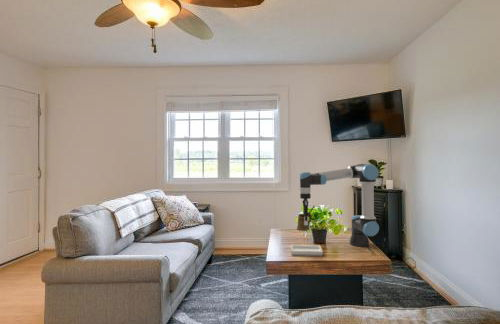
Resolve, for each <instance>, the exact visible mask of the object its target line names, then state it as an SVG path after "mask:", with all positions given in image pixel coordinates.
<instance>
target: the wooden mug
mask: <svg viewBox="0 0 500 324" xmlns="http://www.w3.org/2000/svg"><path fill="white" fill-rule="evenodd" d="M314 208H315V205H314V206H312V208H311V209H310V210H309V211H308V225H304V216H303V215H304V214H303V213H299V214H298V217H297V227H296V230H297V231H299V232H307V231H309V230H310V224H311V222H312V219H313V217H312V214H311V213H312V211H313V210H314Z"/></svg>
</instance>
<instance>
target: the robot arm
mask: <svg viewBox="0 0 500 324" xmlns="http://www.w3.org/2000/svg"><path fill="white" fill-rule="evenodd" d="M379 175H380V174H379V169H378V168H377V167H376V165H374V164H371V163H359V164H355V165H354V164H353V165H352V166H351V165H350V166H347V167H346V168H340V169H334V170H333V169H332V170H328V171H322V172H317V173H316V172H315V173H311V172H308V171H307V172H305V171H303V172H300V174H299V187H300V188H299V190H300V193H299V195H300V196H299V197H300V199H302V207H303V209H302V210H303V213H302V214H304V215H303V216H304V225H308V220H309V217H308V213H309V208H308V207H309V200H310V199H311V186H314V185H315V186H318V185H321V186H322V185H326V184H327V182H330V181H336V180H342V179H348V178H349V179H359V181H358V182H359V183H360V184H361V215H352V216H351V235H350V239H349V244H350V245H352V246H354V247H369V246H370V239H369V237H374V236H376V235H377V234H378V233H379V230H380V226H379V224H378V223H377V217H376V216H375V199H374V198H375V195H374V193H375V191H374V187H375V186H374V184H376V182H377V181H376V179H378V177H379Z"/></svg>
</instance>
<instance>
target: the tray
mask: <svg viewBox="0 0 500 324" xmlns="http://www.w3.org/2000/svg"><path fill="white" fill-rule="evenodd" d="M290 251H291V253H290V254H291V256H305V257H306V256H311V257H313V256H315V257H323V253H324V252H323V249H322V247H321V245H318V244H317V245H316V244H314V245H311V244H290Z"/></svg>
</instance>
